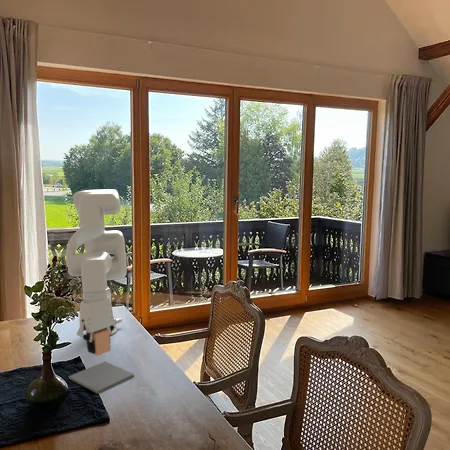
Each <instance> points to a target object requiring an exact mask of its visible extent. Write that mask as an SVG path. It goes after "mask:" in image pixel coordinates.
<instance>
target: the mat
mask: <svg viewBox="0 0 450 450" xmlns="http://www.w3.org/2000/svg"><path fill="white" fill-rule="evenodd" d="M134 375H135V374H134V373H133V372H130V371H128V370H126V369H124V368H122V367H119V366H117V365H114V364H112V363H110V362H107V361H103V362H100V363H98V364H95V365H93V366H90V367H88V368H86V369H84V370H81V371H78V372H75V373H74V374H73V373H72V374H71V375H68V379H69V380H71V381H73V382H74V383H76V384H78V385H80V386H82V387H84V388H86V389H88V390H90V391H92V392H93V393H95V394H99V393H101V392H104V391H106V390H108V389H110V388H112V387H114V386H116V385H118V384H121V383H123V382H125V381H127V380H129V379H131V378H134V377H135V376H134Z"/></svg>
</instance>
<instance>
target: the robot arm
mask: <svg viewBox="0 0 450 450" xmlns="http://www.w3.org/2000/svg"><path fill="white" fill-rule="evenodd" d="M72 200H73V205H74V207H75V208H74V209H75V210H76V211H77V213H78V215H79V217H78V218H79V220H78V221H79V229H77V230H76V231H75V232H74V233H73V234H72V235H71V237H70V239H69V240H68V242H67V244H66V245H67V246H66V252H65V256H66V268H67V267H68V271H67V273H68V275H70V276H73V277H81V284H82V299H83V300H81V302H80V307H79V328H78V330H77V331H76V336H78V337H80V338H81V339H83V340H85V342H86V348H87V351H88V353H89V352H90V354H92V355H94V353H95V342H94V341H93V337H94V332H96V331H99V330H102V329H108V330H109V335H110V336H113V335H114V334H115V333H117V330H118V328H117V324H120V323H122V322H123V318H121V317H119V318H115V317H114V313H113V305H112V296H111V294H112V293H111V288H110V287H109V286H108V282H107V281H113V280H122V279H124V278H125V277H126V276H127V271H128V270H127V255H126V242H125V237H124V234H123V232H121V231H120V230H116V229H115V230H106V227H105V226H106V225H105V216H106V215H107V216H110V215H117V214H119V213H120V211H121V198H120V194H119V192H118V190H117V189H114V188H113V189H111V188H110V189H109V188H108V189H88V190H86V189H85V190H79V191H76V192H75V193H73V196H72ZM82 245H83V246H84V251H85V252H77V253H76V251H77V250H78V249H79V248H80V247H81V246H82ZM111 255H114V256H111ZM84 332H85V333H84ZM110 344H111V341H110Z"/></svg>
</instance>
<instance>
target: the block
mask: <svg viewBox="0 0 450 450" xmlns="http://www.w3.org/2000/svg"><path fill="white" fill-rule="evenodd" d="M93 341H94V342H95V353H94V354H93V355H95V356H97V357H98V356H100V355H103V354H106V353H108V352H111V343H110V342H111V335H109V330H108V329H102V330H99V331H96V332H94V337H93ZM88 353H90V352H88ZM90 354H91V353H90Z"/></svg>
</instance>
